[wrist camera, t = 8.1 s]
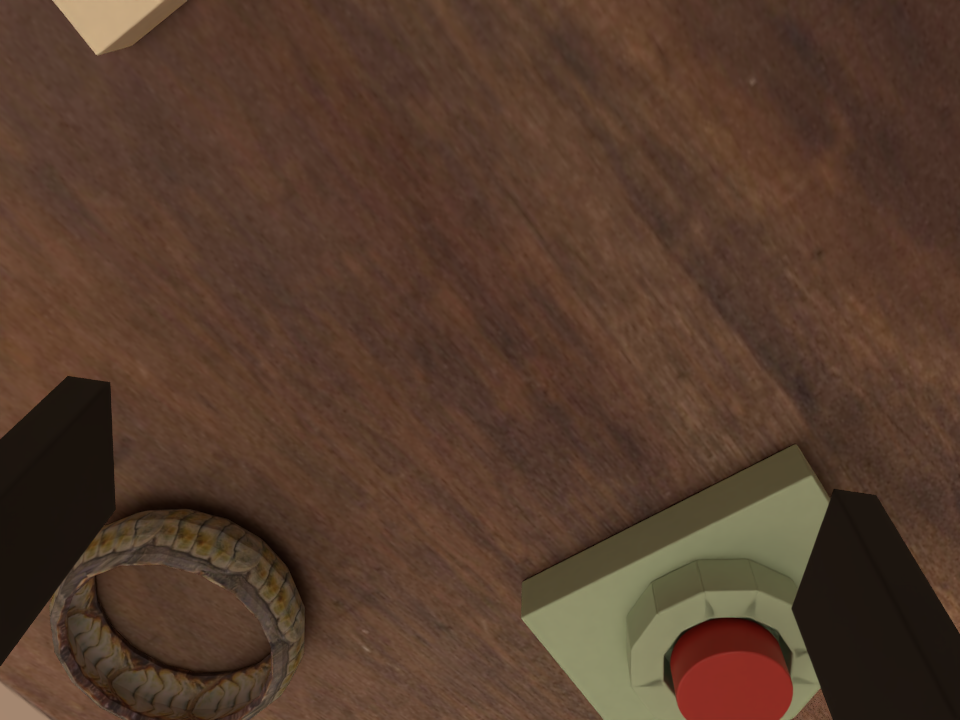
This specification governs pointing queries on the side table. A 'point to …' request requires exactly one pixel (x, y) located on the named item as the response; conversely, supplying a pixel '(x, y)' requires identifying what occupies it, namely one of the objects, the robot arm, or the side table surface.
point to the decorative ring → (143, 680)
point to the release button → (730, 672)
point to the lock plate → (115, 20)
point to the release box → (683, 587)
